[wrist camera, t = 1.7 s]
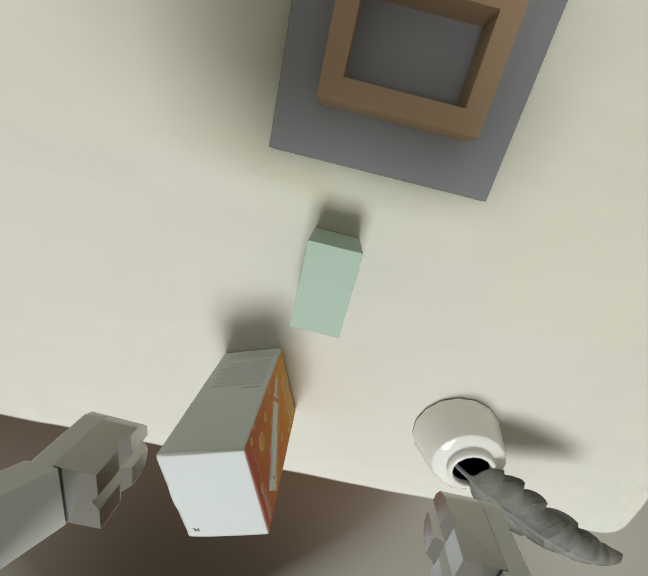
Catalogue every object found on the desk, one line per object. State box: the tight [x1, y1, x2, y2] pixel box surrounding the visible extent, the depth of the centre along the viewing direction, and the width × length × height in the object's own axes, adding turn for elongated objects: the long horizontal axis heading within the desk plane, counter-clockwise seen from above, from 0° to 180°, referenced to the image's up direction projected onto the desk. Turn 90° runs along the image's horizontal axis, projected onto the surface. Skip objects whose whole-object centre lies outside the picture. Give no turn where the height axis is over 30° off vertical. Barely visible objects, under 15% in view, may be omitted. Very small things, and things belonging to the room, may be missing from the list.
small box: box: [157, 348, 295, 536], centre depth 27 cm, size 8×6×13 cm
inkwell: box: [413, 398, 623, 566], centre depth 30 cm, size 9×18×10 cm, turn 71°
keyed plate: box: [269, 0, 568, 202], centre depth 21 cm, size 18×16×4 cm
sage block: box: [289, 228, 363, 338], centre depth 26 cm, size 4×7×6 cm, turn 167°
